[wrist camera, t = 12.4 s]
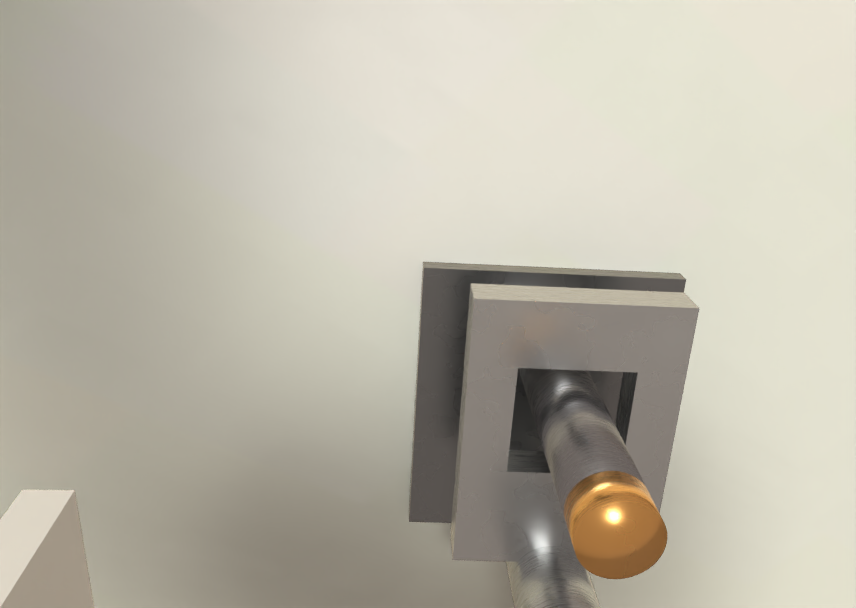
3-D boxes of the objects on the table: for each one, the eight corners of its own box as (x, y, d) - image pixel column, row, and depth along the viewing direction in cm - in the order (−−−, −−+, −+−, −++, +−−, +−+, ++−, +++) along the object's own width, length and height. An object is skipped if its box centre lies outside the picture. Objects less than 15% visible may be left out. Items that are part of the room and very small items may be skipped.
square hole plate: (424, 243, 41) (435, 379, 26) (682, 255, 42) (837, 394, 27) (409, 511, 47) (410, 745, 32) (635, 518, 48) (739, 750, 33)
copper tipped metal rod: (520, 329, 42) (580, 500, 27) (582, 332, 42) (674, 503, 28) (514, 385, 43) (568, 577, 29) (574, 388, 43) (658, 580, 29)
